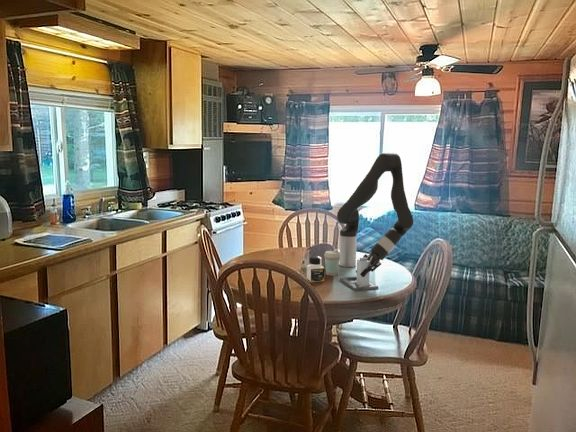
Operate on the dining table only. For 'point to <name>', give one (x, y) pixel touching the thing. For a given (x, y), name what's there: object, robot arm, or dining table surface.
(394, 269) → the dining table surface
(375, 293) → the dining table surface
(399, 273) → the dining table surface
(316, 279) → the medicine bottle
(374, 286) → the panel
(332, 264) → the coffee cup
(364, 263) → the plug
